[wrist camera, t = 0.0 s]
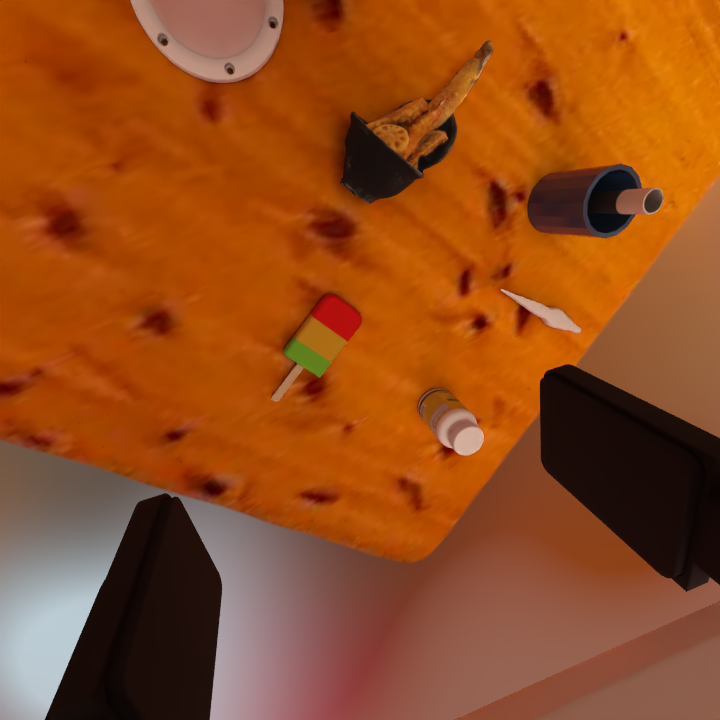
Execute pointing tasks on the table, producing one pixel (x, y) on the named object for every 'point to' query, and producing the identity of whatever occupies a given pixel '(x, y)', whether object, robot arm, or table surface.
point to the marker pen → (626, 201)
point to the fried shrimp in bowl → (406, 137)
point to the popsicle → (320, 339)
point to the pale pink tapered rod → (546, 313)
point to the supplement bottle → (450, 421)
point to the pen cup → (580, 201)
